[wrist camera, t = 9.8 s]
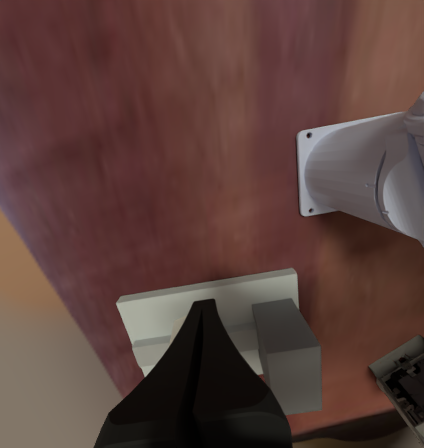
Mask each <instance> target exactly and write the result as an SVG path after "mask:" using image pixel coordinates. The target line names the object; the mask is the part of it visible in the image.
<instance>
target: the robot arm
mask: <svg viewBox="0 0 424 448" xmlns="http://www.w3.org/2000/svg"><path fill="white" fill-rule="evenodd" d="M307 133H309V134H310V137H309V139H308V138H307V137H306V135H307ZM296 141H297V163H298V185H299V207H300V214H301V215H303V216H311V215H317V214H322V213H328V212H334V211H342V212H345V213H347V214H350V215H353V216H356V217H358V218H361V219H364V220H367V221H369V222H372V223H375V224H378V225H380V226H383V227H386V228H389V229H391V230H394V231H397V232H400V233H402V234H405V235H407V236H410V237H413V238H415V239H417V240H419V241H420V242H421V244H422V246H423V248H424V92H423V93H422V94H421V95H420V96H419V98H418V99H417V100H416V102H415V103H414V105H413V106H412V107H410V108H409V110H408V111H405V112H398V113H393V114H388V115H382V116H377V117H372V118H367V119H361V120H356V121H351V122H345V123H340V124H335V125H330V126H324V127H319V128H314V129H309V130H303V131H301V132H299V133H298V134H297V137H296ZM311 208H312V211H311V212H309V209H311ZM94 448H293V447H292V436H291V429H290V426H289V423H288V420H287V418H286V416H285V414H284V412H283V410H282V408H281V406H280V404H279V402H278V401H277V399H276V397H275V396H274V394H273V392H272V390H271V389H270V388H269V387H268V386H267V385H266V384H265V383H264V381H263V380H262V379H261V378H260V377H259V376H258V375H257V374H256V373H255V371H254V370H253V369H252V368H251V367H250V365H249V364H248V363H247V362H246V360H245V359H244V358H243V356H242V355H241V354H240V352H239V351H238V349H237V348H236V346H235V345H234V343H233V342H232V340H231V338H230V337H229V335H228V333H227V331H226V329H225V328H224V326H223V323H222V321H221V319H220V317H219V314H218V311H217V306H216V301H215V299H214V298H212V299H206V300H199V301H194V302H193V304H192V306H191V308H190V310H189V313H188V315H187V317H186V319H185V321H184V322H183V324H182V326H181V328H180V330H179V332H178V333H177V335H176V336H175V338H174V340H173V341H172V343H171V344H170V346H169V348H168V349H167V350H166V352H165V353H164V355H163V356H162V357H161V359H160V360H159V361H158V362H157V364H156V365H155V366H154V367H153V369H152V370H151V371H150V372H149V373H148V375H147V376H146V377H145V378H144V379H143V380H142V381H141V382H140V383H139V384H138V385H137V386H136V388H135V389H134V390H133V391H132V392H131V393H130V394H129V395H127V396H126V397H125V398H124V399H123V400H122V401H121V402H120V403H119V404H118V405H117V406H116V407H115V408H114V409H112V410H111V411H110V412H109V413H108V416H107V418H106V420H105V422H104V424H103V426H102V428H101V431H100V433H99V436H98V438H97V440H96V443H95V446H94Z"/></svg>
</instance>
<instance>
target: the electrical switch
mask: <svg viewBox="0 0 424 448" xmlns="http://www.w3.org/2000/svg"><path fill="white" fill-rule="evenodd" d="M405 353H406V355H408V356H409V357H410V358H409V357H407V356H406V355H405ZM400 357H404V358H405V359H406V361H405V362H403V363H400V362H399V359H400ZM392 360H393V361H392ZM394 361H395V362H396V364H397V366H396V364H395V363H394ZM380 362H381V363H380ZM369 368H370V369H371V370H372V372H373V373H374V375H375V376H376V377H377V381H376V383H377V385H378V386H379V388H380V389H381V390H382V392H384V393H385V394H386V396H387V397H388V398H389V400H390V401H391V402H392V404H393V405H394V407H395V408H396V409H397V411H398V412H399V413H400V415H401V416H402V418H403V419H404V420H405V422H406V423H407V425H408V426H409V427H410V429H411V430H412V431H413V433H414V434H415V435H416V437H417V438H418V440H419V441H420V442H419V443H420V445H421V446H422V447H423V448H424V338H423V337H422V336H421V335H418V336H416V337H414V338H413V339H411V340H410V341H408V342H406V343H405V344H403V345H401V346H400V347H398V348H397V349H395V350H393V351H392V352H390V353H388V354H387V355H385V356H384V357H382V358H380V359H379V360H377V361H375V362H374V363H372V364H371V365H369ZM381 370H382V371H381Z"/></svg>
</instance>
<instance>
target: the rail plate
mask: <svg viewBox="0 0 424 448" xmlns="http://www.w3.org/2000/svg"><path fill="white" fill-rule="evenodd" d="M212 298H214V299H215V301H216V306H217V311H218V314H219V317H220V319H221V321H222V323H223V326H224V328H225V329H226V331H227V333H228V335H229V337H230V338H231V340H232V342H233V343H234V345H235V346H236V348H237V349H238V351H239V352H240V354H241V355H242V356H243V358H244V359H245V360H246V362H247V363H248V364H249V365H250V367H251V368H252V369H253V370H254V371H255V373H256V374H257V375H259V374H264V378H265V382H266V385H267V386H268V387H269V388H270V389H271V390H272V392H273V394H274V396H275V397H276V399H277V401H278V402H279V404H280V406H281V408H282V410H283V412H284V414H285V415H289V414H297V413H304V412H311V411H318V410H322V378H321V345H320V344H319V342H318V340H317V339H316V337H315V335H314V334H313V332H312V331H311V329H310V327H309V326H308V324H307V322H306V321H305V319H304V318H303V316H302V314H301V313H300V311H299V301H298V283H297V273H296V272H295V271H294V269H293V268H289V269H283V270H277V271H271V272H265V273H259V274H253V275H247V276H241V277H235V278H229V279H222V280H216V281H210V282H204V283H198V284H192V285H186V286H180V287H174V288H168V289H162V290H156V291H150V292H144V293H138V294H131V295H125V296H121V297H120V298H119V300H118V301H117V303H116V304H117V307H118V309H119V312H120V315H121V317H122V320H123V322H124V325H125V327H126V330H127V332H128V335H129V338H130V340H131V343H132V345H133V347H132V350H133V352H134V355H135V357H136V360H137V362H138V365H139V367H141V368H142V371H143V373H144V376H145V377H146V376H147V375H148V373H149V372H150V371H151V370H152V369H153V367H154V366H155V365H156V364H157V362H158V361H159V360H160V359H161V357H162V356H163V355H164V353H165V352H166V350H167V349H168V348H169V343H170V339H171V334H172V329H173V325H174V320H177V319H179V318H181V317H184V316H186V315H188V313H189V310H190V308H191V306H192V304H193V302H194V301H199V300H206V299H212Z"/></svg>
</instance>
